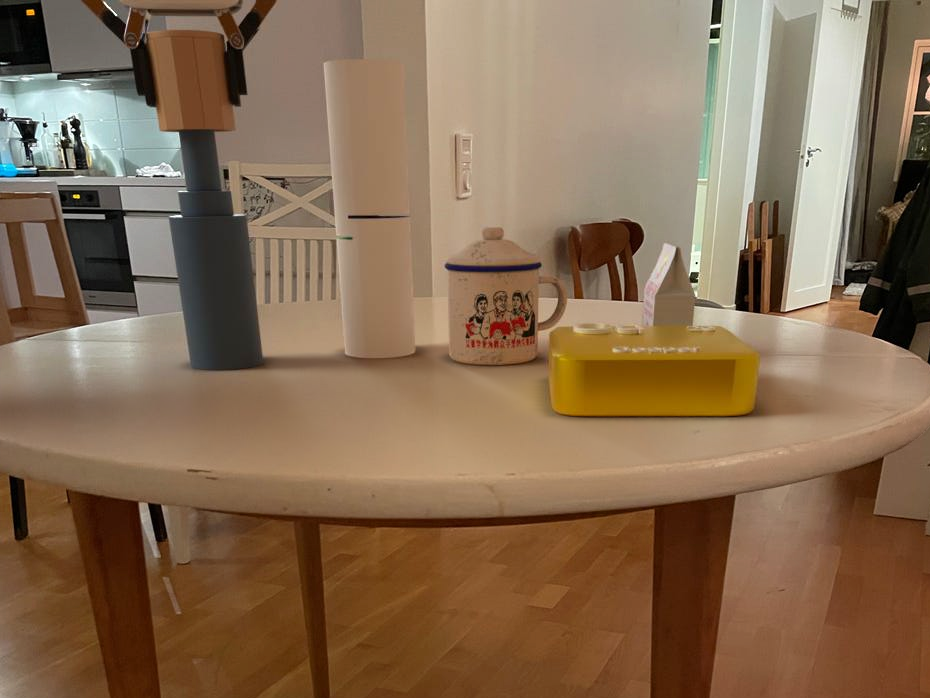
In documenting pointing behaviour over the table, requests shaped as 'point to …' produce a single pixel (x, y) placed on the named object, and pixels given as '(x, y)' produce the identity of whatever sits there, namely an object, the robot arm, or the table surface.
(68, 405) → the table surface
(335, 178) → the cylindrical container
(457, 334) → the teacup with lid
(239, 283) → the water bottle
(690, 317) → the milk carton
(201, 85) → the light wood cylinder
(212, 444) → the table surface
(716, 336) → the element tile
